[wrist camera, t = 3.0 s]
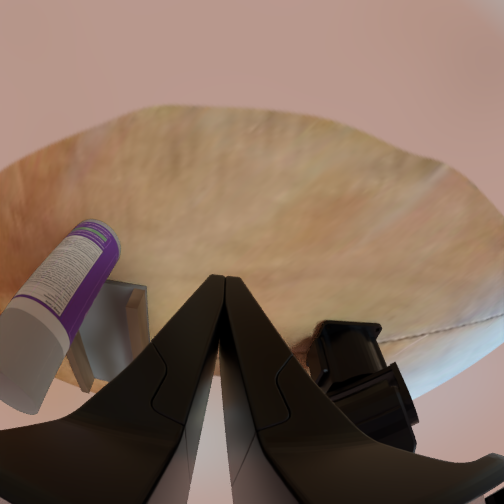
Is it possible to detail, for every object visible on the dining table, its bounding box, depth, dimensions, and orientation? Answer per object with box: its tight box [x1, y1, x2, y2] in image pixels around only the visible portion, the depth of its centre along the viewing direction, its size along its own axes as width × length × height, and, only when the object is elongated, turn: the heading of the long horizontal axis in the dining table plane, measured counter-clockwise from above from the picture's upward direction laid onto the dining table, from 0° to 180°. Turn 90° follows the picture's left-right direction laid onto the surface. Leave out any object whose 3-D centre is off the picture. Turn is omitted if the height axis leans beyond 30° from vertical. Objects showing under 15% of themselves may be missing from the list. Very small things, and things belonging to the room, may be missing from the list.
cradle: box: [66, 280, 150, 393], centre depth 27 cm, size 9×16×3 cm, turn 170°
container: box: [0, 219, 121, 415], centre depth 16 cm, size 5×5×15 cm
